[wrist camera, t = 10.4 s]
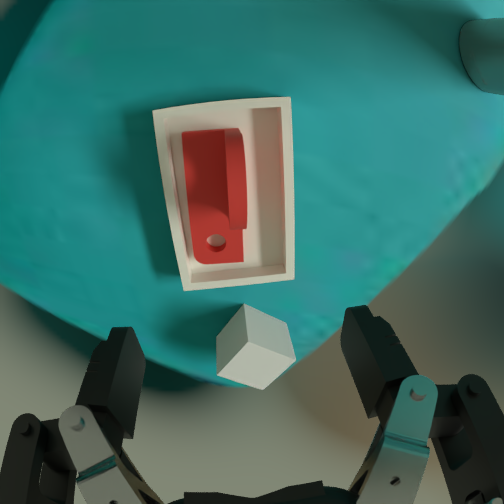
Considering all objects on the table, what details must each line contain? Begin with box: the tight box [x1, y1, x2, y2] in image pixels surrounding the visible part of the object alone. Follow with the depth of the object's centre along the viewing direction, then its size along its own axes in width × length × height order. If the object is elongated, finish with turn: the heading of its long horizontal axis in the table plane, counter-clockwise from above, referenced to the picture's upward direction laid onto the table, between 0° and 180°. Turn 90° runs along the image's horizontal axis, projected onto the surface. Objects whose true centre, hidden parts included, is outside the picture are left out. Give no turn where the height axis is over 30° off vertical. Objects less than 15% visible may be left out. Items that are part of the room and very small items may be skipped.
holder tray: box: [153, 97, 294, 291], centre depth 26 cm, size 11×17×2 cm, turn 4°
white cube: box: [216, 304, 296, 390], centre depth 33 cm, size 6×6×6 cm
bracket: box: [182, 128, 247, 264], centre depth 23 cm, size 12×4×8 cm, turn 1°
